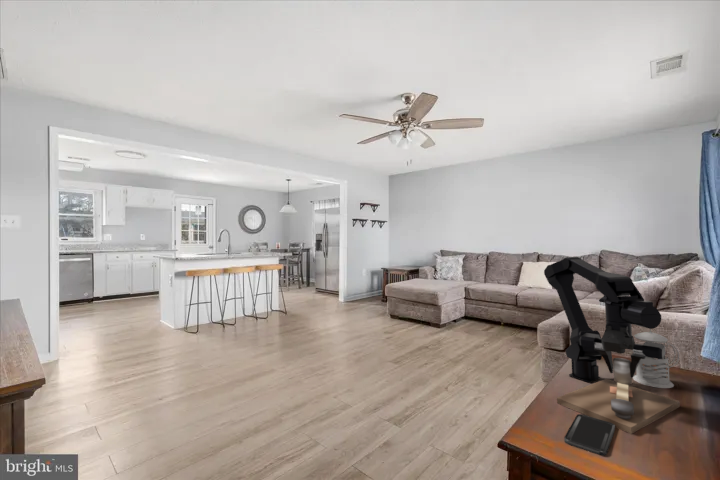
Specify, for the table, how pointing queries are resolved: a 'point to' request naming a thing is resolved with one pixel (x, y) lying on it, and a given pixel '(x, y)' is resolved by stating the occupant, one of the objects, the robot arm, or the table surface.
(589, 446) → the phone
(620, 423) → the board
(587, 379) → the robot arm
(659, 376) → the french press
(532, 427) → the table surface
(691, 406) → the table surface
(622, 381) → the grey-ended beige bar
